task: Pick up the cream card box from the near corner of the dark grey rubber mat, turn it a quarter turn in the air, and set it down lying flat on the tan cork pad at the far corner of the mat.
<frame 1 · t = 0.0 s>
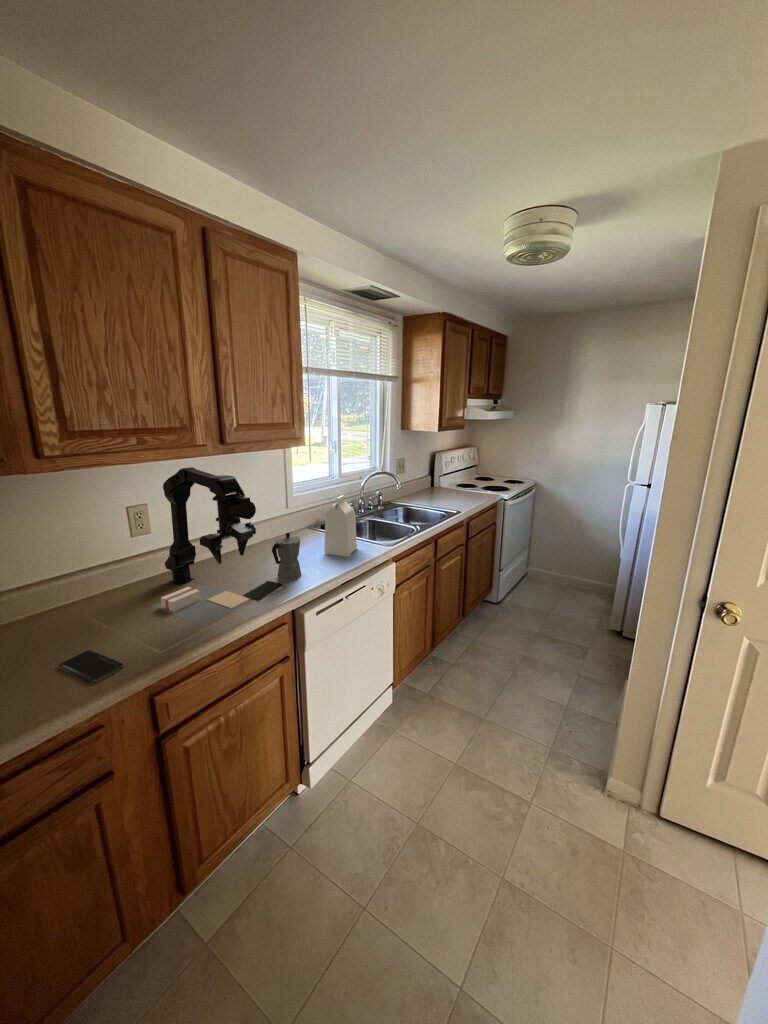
hand: (230, 559, 139), 15 cm above the table, tool pointing down, fingers open, 9 cm apart
smartphone: (263, 593, 149), on the table
phone: (91, 669, 105), on the table
milk: (341, 551, 192), on the table
card box: (181, 603, 138), point 1 cm above the table, touching mat
mat: (204, 604, 138), on the table
coffeepot: (287, 577, 162), on the table
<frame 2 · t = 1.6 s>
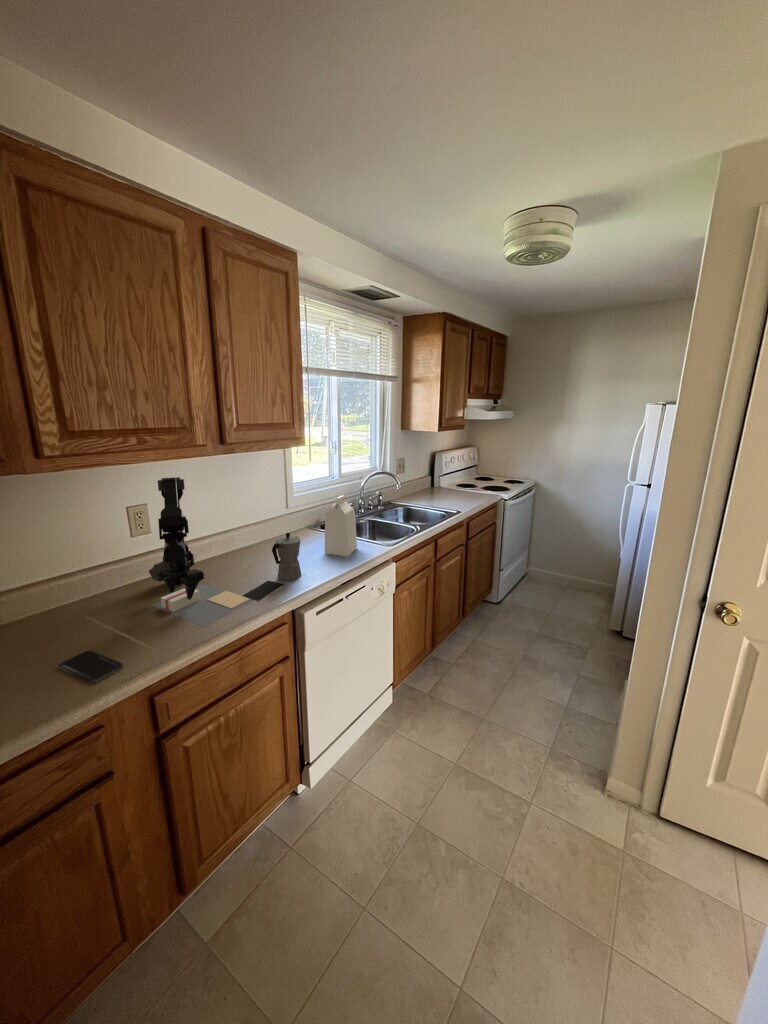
hand: (180, 595, 137), 3 cm above the table, tool pointing down, fingers open, 9 cm apart
nothing on the table moved.
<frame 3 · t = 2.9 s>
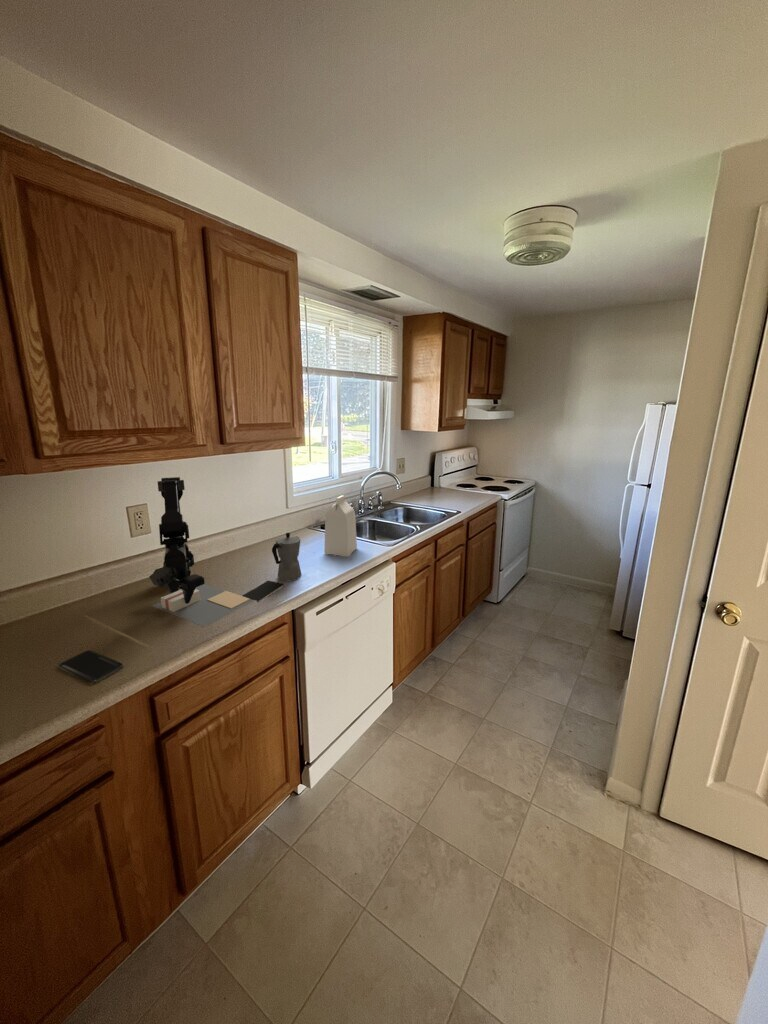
hand: (181, 600, 137), 2 cm above the table, tool pointing down, fingers closed on card box, 6 cm apart
card box: (181, 603, 138), point 1 cm above the table, touching gripper, mat
everything else where it was.
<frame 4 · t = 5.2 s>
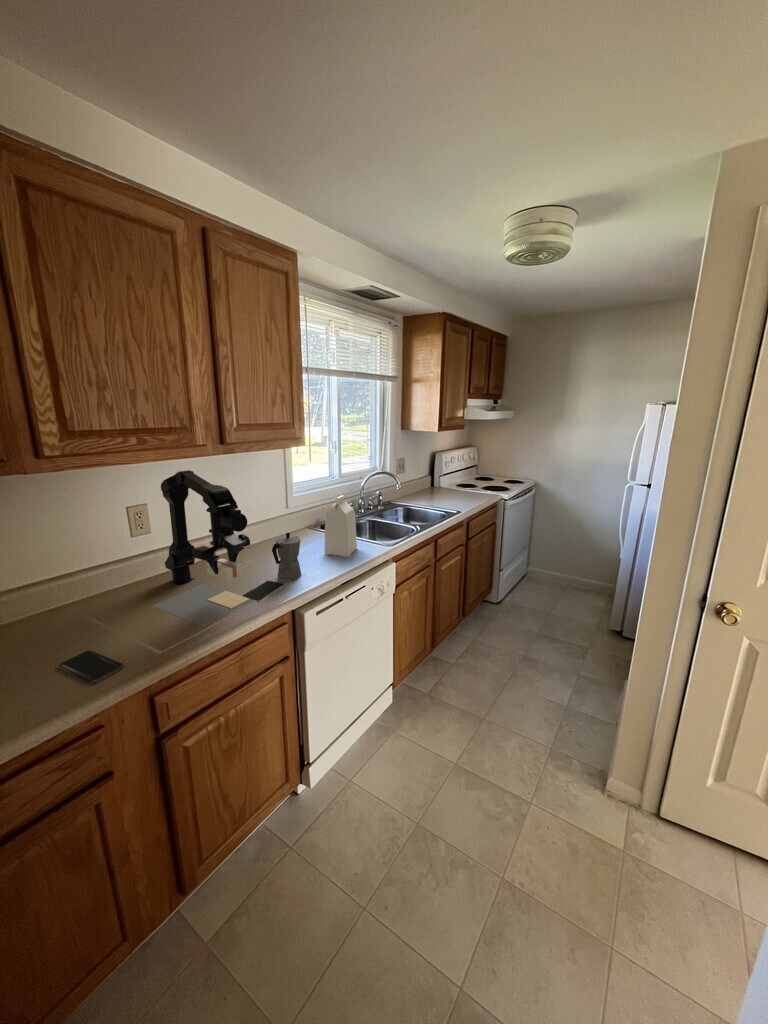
hand: (224, 571, 138), 11 cm above the table, tool pointing down, fingers closed on card box, 6 cm apart
card box: (225, 573, 138), point 10 cm above the table, touching gripper
everything else where it was.
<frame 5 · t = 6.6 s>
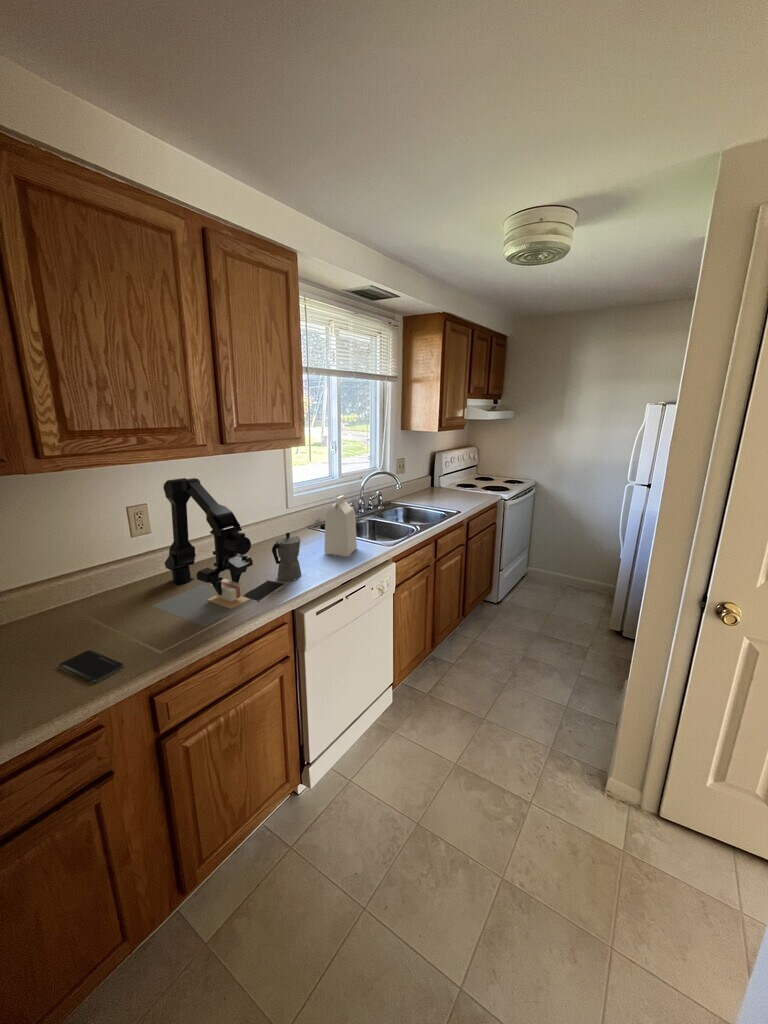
hand: (227, 591, 140), 4 cm above the table, tool pointing down, fingers closed on card box, 6 cm apart
card box: (228, 594, 140), point 3 cm above the table, touching gripper
everything else where it was.
when the fingers open (3 cm above the table, at t = 7.6 s): card box drops 1 cm, resting on mat.
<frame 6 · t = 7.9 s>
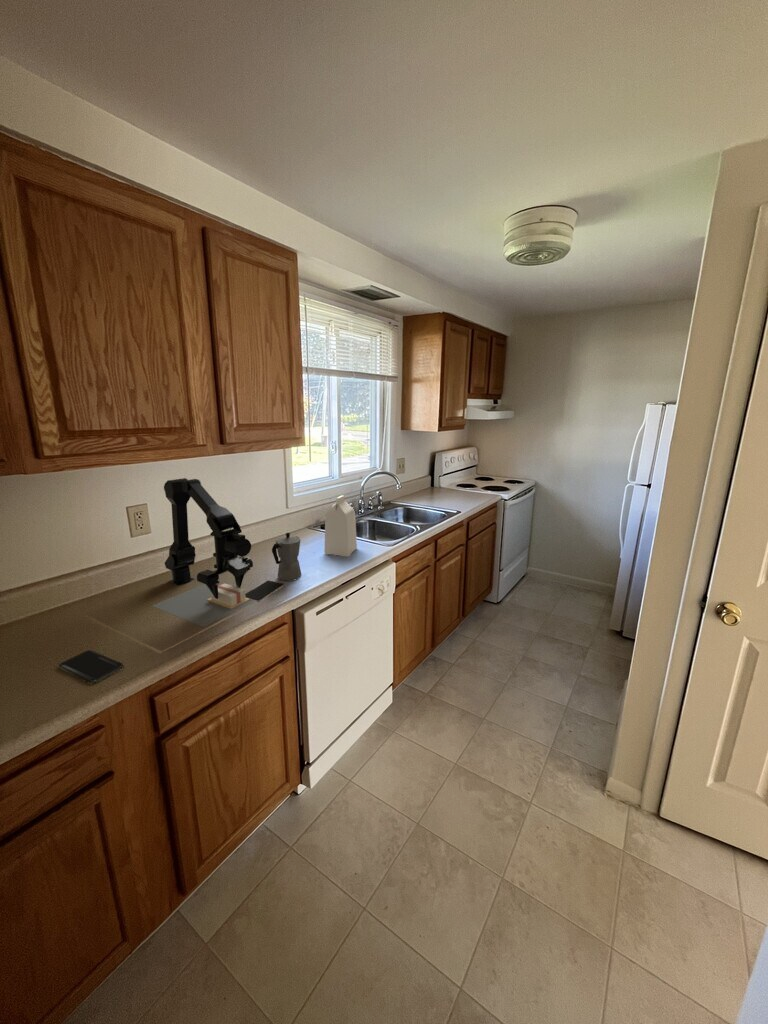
hand: (228, 593, 140), 3 cm above the table, tool pointing down, fingers open, 9 cm apart
card box: (228, 599, 141), point 1 cm above the table, touching mat
everything else where it was.
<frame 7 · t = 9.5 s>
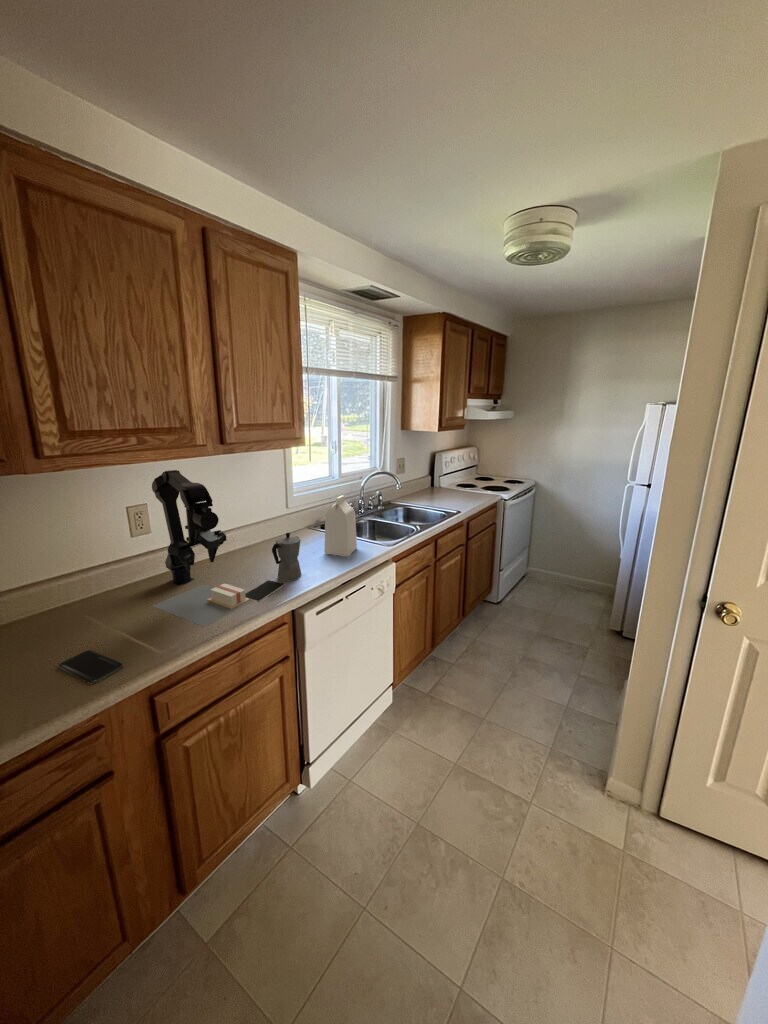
hand: (200, 566, 140), 12 cm above the table, tool pointing down, fingers open, 9 cm apart
nothing on the table moved.
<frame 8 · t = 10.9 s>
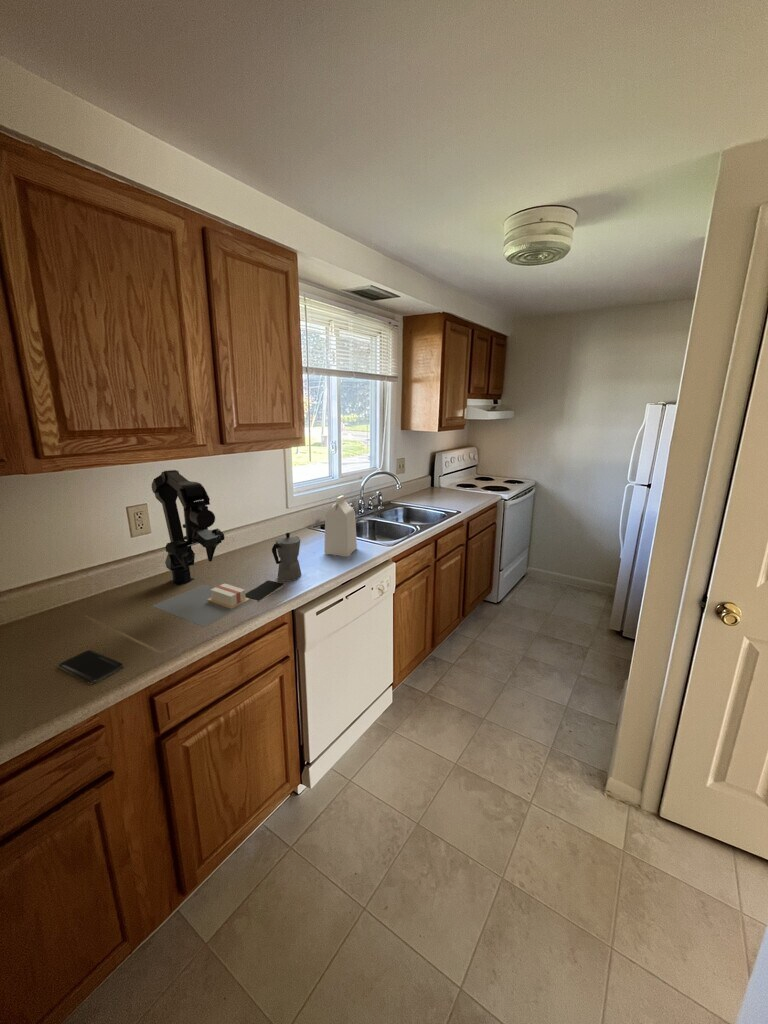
hand: (198, 565, 140), 12 cm above the table, tool pointing down, fingers open, 9 cm apart
nothing on the table moved.
at the end: card box 0.0 cm from the target spot on the mat, point 0.8 cm above the mat's base; card box tilted 0°; the gripper is holding nothing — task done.
